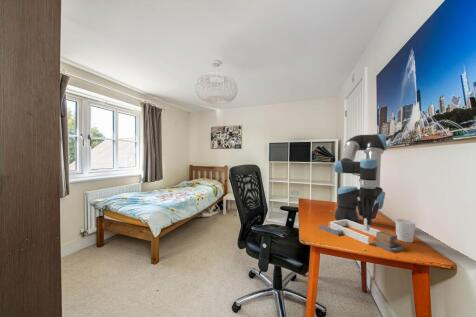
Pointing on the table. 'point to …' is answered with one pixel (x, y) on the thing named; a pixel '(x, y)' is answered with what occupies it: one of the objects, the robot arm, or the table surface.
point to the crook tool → (331, 230)
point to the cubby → (365, 239)
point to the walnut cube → (386, 239)
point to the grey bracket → (398, 248)
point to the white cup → (405, 230)
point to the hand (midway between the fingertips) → (366, 230)
